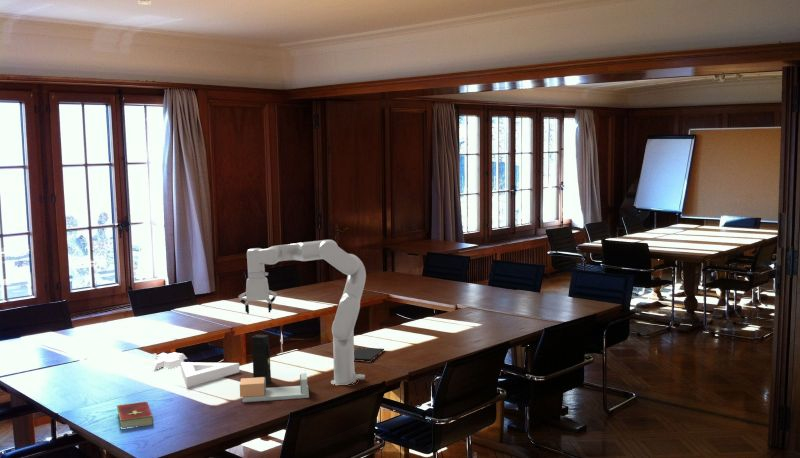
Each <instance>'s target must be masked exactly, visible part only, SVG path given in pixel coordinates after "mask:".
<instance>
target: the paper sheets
mask: <svg viewBox="0 0 800 458" xmlns="http://www.w3.org/2000/svg"><path fill="white" fill-rule="evenodd" d="M155 359H156V360H155ZM154 360H155V361H154ZM154 360H153V361H152V363H151V365H150V367H151V366H152V368H153V369H154V370H156V369H158V368H161V367H166V368H168V369H167V370H169V369H171V370H173V369H176V368H179V367H178V366H180V365H181V362H185V360H188V357H187V356H186V355H185V354H184V353H182V352H181V353H180V352H175V351H174V352H170V353H166V352H161V353H159V354H157V355H156V356H155V358H154ZM175 367H176V368H175ZM180 367H181V366H180ZM166 368H165V369H166ZM172 368H173V369H172ZM161 369H162V368H161ZM156 371H157V370H156Z"/></svg>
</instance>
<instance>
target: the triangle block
mask: <svg viewBox="0 0 800 458" xmlns="http://www.w3.org/2000/svg"><path fill="white" fill-rule="evenodd" d="M180 372H181V374H182V377H183V381H184V384H185V386H186V388H191V387H194V386H197V385H200V384H204V383H208V382H210V381H211V382H212V381H214V380H217V379H221V378H224V377H228V376H230V375H234V374H238V373H240V363H239V362H197V361H196V362H192V361H191V362H190V361H187V362H186V361H184V362H181V366H180Z"/></svg>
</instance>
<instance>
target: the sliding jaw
mask: <svg viewBox="0 0 800 458" xmlns="http://www.w3.org/2000/svg"><path fill="white" fill-rule="evenodd" d="M266 388H267V384H266V377H258V378H253V377H247V378H246V377H245V378H244V377H243V378H240V382H239V396H240V397H239V398H243V397H249V396H263V395H266Z"/></svg>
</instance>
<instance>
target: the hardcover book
mask: <svg viewBox="0 0 800 458" xmlns="http://www.w3.org/2000/svg"><path fill="white" fill-rule="evenodd" d="M116 408H117V414H118V413H119V414H118V417H119V418H120V419H119V422H121V427H122V428H127V427H136V426H137V428H139V427H138V426H143V427H147V426H148V427H149V425H150V426H154V417H153V414H152V410H151V408H150V406H149V403H148V401H147V400H146V401H139V402H132V403H125V404H118V405H116Z"/></svg>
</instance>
